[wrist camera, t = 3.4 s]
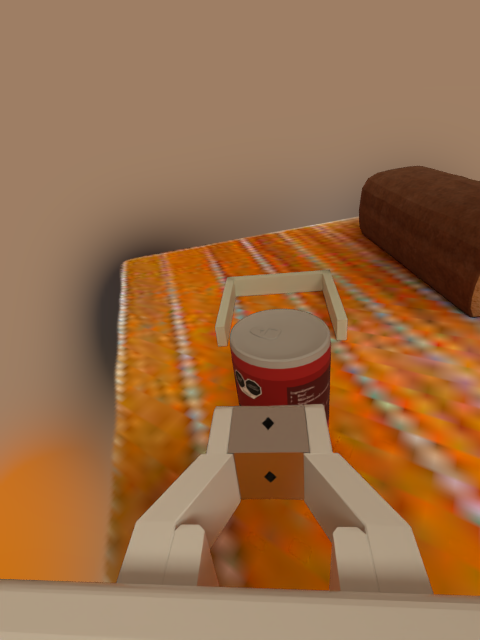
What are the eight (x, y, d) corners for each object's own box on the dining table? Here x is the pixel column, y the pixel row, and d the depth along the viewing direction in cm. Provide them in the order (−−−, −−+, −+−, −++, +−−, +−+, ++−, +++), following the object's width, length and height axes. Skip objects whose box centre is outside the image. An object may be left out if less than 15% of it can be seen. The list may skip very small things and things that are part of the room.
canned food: (249, 398, 37) (238, 307, 32) (327, 401, 36) (329, 307, 30) (236, 459, 31) (218, 360, 25) (329, 467, 29) (333, 363, 24)
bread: (424, 224, 78) (434, 159, 72) (584, 307, 45) (633, 199, 38) (355, 234, 78) (359, 169, 71) (465, 324, 45) (492, 218, 38)
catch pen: (329, 286, 57) (329, 269, 56) (346, 340, 44) (347, 319, 43) (229, 293, 59) (227, 277, 58) (218, 346, 46) (214, 327, 45)
